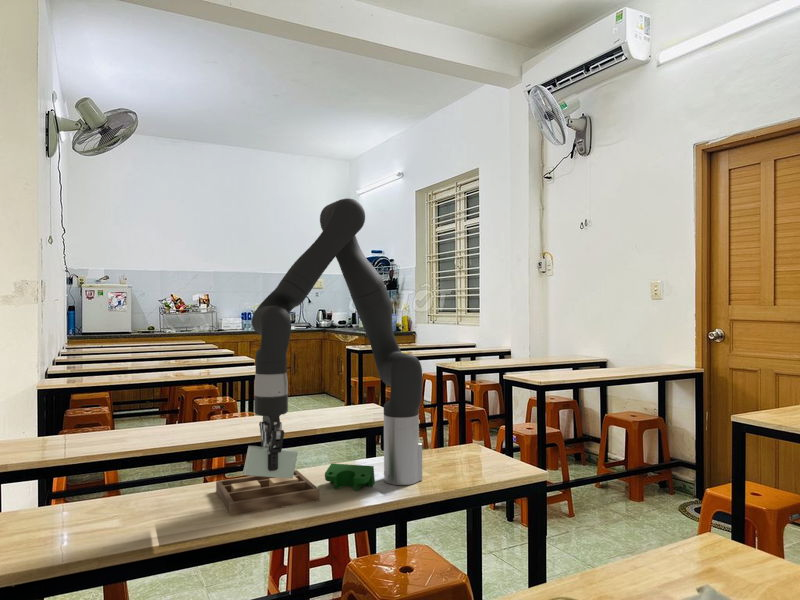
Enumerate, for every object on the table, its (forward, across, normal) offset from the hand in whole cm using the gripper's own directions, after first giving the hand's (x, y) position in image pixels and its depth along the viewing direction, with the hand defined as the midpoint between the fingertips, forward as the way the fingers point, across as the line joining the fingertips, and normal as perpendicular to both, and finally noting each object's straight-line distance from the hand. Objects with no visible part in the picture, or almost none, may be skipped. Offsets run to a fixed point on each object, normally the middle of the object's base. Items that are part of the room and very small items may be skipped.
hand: (271, 468), depth 127 cm
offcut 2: (+8, +6, -5) cm, 11 cm away
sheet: (-3, 0, +6) cm, 6 cm away
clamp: (+9, +2, -20) cm, 22 cm away
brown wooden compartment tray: (+9, +5, 0) cm, 10 cm away
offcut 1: (+8, +6, +4) cm, 11 cm away
